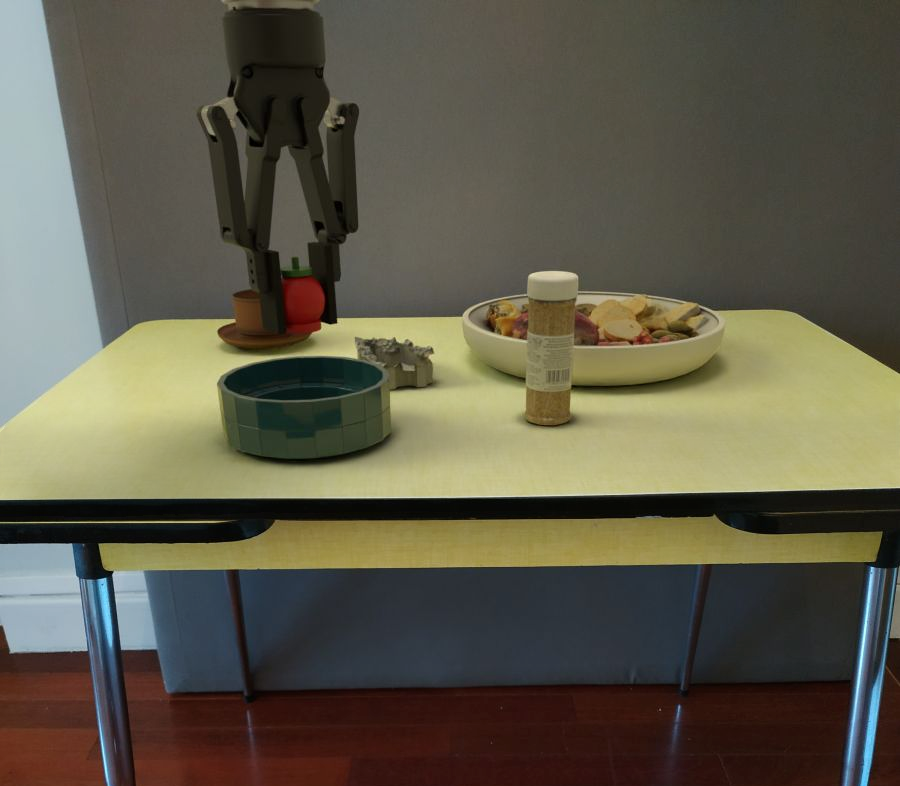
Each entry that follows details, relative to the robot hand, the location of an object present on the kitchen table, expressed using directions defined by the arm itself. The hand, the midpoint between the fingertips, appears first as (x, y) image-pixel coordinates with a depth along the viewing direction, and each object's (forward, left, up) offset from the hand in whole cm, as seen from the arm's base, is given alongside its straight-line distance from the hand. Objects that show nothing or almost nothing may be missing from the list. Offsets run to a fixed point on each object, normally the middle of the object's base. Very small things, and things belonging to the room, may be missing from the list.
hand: (300, 325), depth 79 cm
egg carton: (+18, +11, -10) cm, 23 cm away
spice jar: (+20, -11, -10) cm, 25 cm away
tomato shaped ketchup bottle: (0, 0, 0) cm, 0 cm away
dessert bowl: (0, 0, -10) cm, 10 cm away
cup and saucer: (+15, +34, -10) cm, 38 cm away
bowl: (+40, +2, -10) cm, 41 cm away
